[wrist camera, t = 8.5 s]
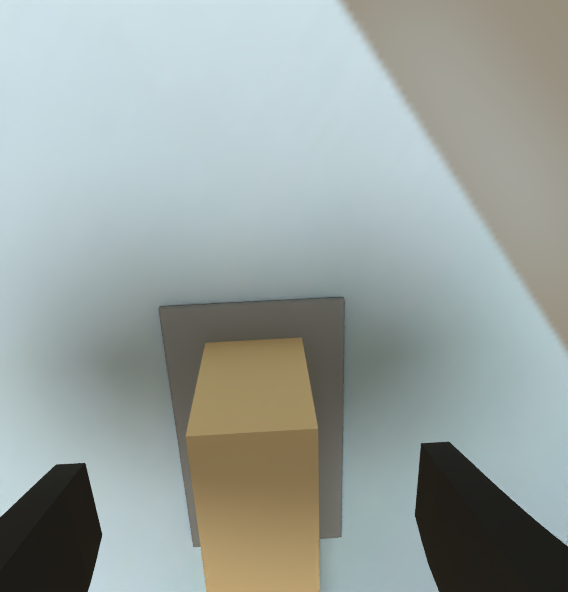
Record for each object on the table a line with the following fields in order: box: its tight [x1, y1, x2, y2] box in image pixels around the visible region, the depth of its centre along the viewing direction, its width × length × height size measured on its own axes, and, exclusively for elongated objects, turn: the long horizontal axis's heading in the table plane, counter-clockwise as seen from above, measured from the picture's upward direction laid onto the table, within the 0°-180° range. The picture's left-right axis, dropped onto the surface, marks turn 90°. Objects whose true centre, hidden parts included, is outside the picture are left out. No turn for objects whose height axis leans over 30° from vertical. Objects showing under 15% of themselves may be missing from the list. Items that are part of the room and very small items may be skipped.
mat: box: [159, 297, 345, 547], centre depth 17 cm, size 6×10×1 cm, turn 2°
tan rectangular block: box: [185, 338, 320, 592], centre depth 15 cm, size 3×12×4 cm, turn 2°
